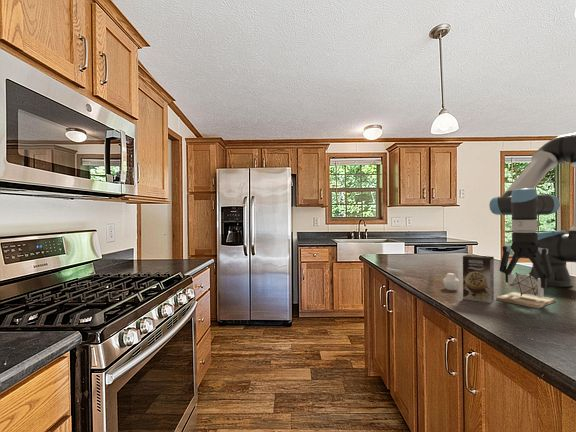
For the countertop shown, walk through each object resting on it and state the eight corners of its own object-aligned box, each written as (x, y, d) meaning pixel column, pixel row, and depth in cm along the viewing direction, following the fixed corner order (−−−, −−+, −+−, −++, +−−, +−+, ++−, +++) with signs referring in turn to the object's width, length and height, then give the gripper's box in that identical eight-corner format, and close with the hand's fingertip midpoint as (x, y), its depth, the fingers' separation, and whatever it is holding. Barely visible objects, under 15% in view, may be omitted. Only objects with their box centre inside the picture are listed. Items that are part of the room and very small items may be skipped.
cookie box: (462, 299, 120) (461, 256, 120) (467, 296, 125) (466, 254, 125) (490, 303, 114) (490, 257, 114) (494, 299, 119) (494, 255, 119)
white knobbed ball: (441, 289, 136) (440, 273, 136) (445, 287, 141) (445, 270, 141) (457, 291, 132) (457, 274, 132) (461, 289, 137) (460, 272, 137)
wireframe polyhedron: (526, 304, 119) (536, 280, 121) (541, 301, 111) (551, 276, 113) (501, 291, 121) (511, 268, 123) (514, 287, 113) (524, 263, 115)
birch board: (514, 294, 126) (514, 291, 126) (555, 301, 115) (555, 298, 115) (496, 300, 119) (496, 297, 119) (538, 308, 108) (538, 305, 108)
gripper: (487, 231, 124) (488, 290, 124) (556, 233, 106) (557, 302, 106) (497, 230, 128) (498, 287, 128) (565, 232, 110) (566, 298, 110)
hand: (525, 294), depth 117 cm, fingers closed on wireframe polyhedron, 9 cm apart
